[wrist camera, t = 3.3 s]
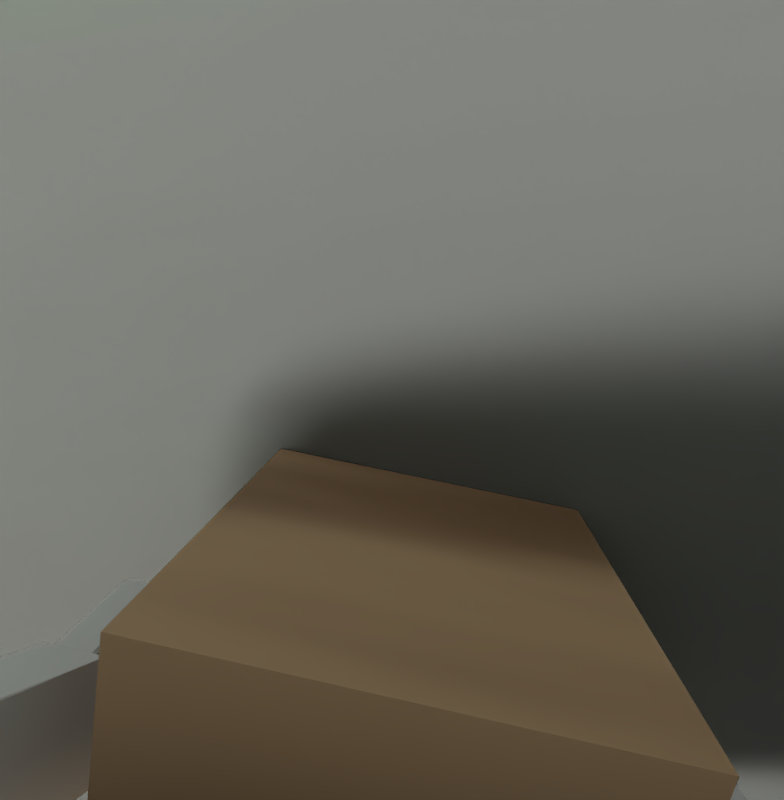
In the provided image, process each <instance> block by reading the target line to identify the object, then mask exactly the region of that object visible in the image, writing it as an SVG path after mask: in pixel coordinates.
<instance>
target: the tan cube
mask: <svg viewBox="0 0 784 800" xmlns="http://www.w3.org/2000/svg"><path fill="white" fill-rule="evenodd" d="M738 779H739V775H738V773H737V772H736V770H735V769H734V767H733V765H732V764H731V762H730V760H729V759H728V757H727V755H726V754H725V752H724V750H723V749H722V747H721V745H720V744H719V742H718V741H717V739H716V737H715V736H714V734H713V732H712V731H711V729H710V727H709V726H708V724H707V722H706V721H705V719H704V717H703V716H702V714H701V713H700V711H699V709H698V708H697V706H696V704H695V703H694V701H693V699H692V698H691V696H690V694H689V693H688V691H687V689H686V688H685V686H684V685H683V683H682V681H681V680H680V678H679V676H678V675H677V673H676V671H675V670H674V668H673V666H672V665H671V663H670V661H669V660H668V658H667V657H666V655H665V653H664V652H663V650H662V648H661V647H660V645H659V643H658V642H657V640H656V638H655V637H654V635H653V633H652V632H651V630H650V629H649V627H648V625H647V624H646V622H645V620H644V619H643V617H642V615H641V614H640V612H639V610H638V609H637V607H636V606H635V604H634V602H633V601H632V599H631V597H630V596H629V594H628V592H627V591H626V589H625V587H624V586H623V584H622V582H621V581H620V579H619V578H618V576H617V574H616V573H615V571H614V569H613V568H612V566H611V564H610V563H609V561H608V559H607V558H606V556H605V554H604V553H603V551H602V550H601V548H600V546H599V545H598V543H597V541H596V540H595V538H594V536H593V535H592V533H591V531H590V530H589V528H588V526H587V525H586V523H585V522H584V520H583V518H582V517H581V515H580V513H579V512H578V510H575V509H570V508H565V507H561V506H556V505H551V504H546V503H541V502H536V501H532V500H527V499H522V498H517V497H512V496H507V495H503V494H498V493H493V492H488V491H483V490H478V489H474V488H469V487H464V486H459V485H454V484H449V483H445V482H440V481H435V480H430V479H425V478H420V477H416V476H411V475H406V474H401V473H396V472H391V471H387V470H382V469H377V468H372V467H367V466H362V465H358V464H353V463H348V462H343V461H338V460H333V459H329V458H324V457H319V456H314V455H309V454H304V453H300V452H295V451H290V450H285V449H280V450H279V451H278V452H277V453H276V454H275V455H274V456H273V457H272V458H271V459H270V460H269V461H268V462H267V463H266V464H265V465H264V466H263V467H262V468H261V469H260V470H259V471H258V473H257V474H256V475H255V476H254V477H253V478H252V479H251V480H250V481H249V482H248V483H247V484H246V485H245V486H244V487H243V488H242V489H241V490H240V491H239V492H238V493H237V494H236V495H235V496H234V497H233V498H232V499H231V500H230V501H229V502H228V503H227V504H226V505H225V506H224V507H223V508H222V509H221V510H220V511H219V512H218V513H217V514H216V515H215V516H214V517H213V518H212V519H211V520H210V521H209V522H208V523H207V524H206V525H205V526H204V527H203V528H202V529H201V530H200V531H199V532H198V533H197V534H196V535H195V537H194V538H193V539H192V540H191V541H190V542H189V543H188V544H187V545H186V546H185V547H184V548H183V549H182V550H181V551H180V552H179V553H178V554H177V555H176V556H175V557H174V558H173V559H172V560H171V561H170V562H169V563H168V564H167V565H166V566H165V567H164V568H163V569H162V570H161V571H160V572H159V573H158V574H157V575H156V576H155V577H154V578H153V579H152V580H151V581H150V582H149V583H148V584H147V585H146V586H145V587H144V588H143V589H142V590H141V591H140V592H139V593H138V594H137V595H136V596H135V597H134V598H133V599H132V601H131V602H130V603H129V604H128V605H127V606H126V607H125V608H124V609H123V610H122V611H121V612H120V613H119V614H118V615H117V616H116V617H115V618H114V619H113V620H112V621H111V622H110V623H109V624H108V625H107V626H106V627H105V628H104V629H103V630H102V631H101V634H100V647H99V660H98V673H97V686H96V699H95V712H94V724H93V737H92V750H91V763H90V776H89V789H88V800H730V799H731V797H732V794H733V792H734V789H735V786H736V784H737V781H738Z"/></svg>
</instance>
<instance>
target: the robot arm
mask: <svg viewBox="0 0 784 800" xmlns="http://www.w3.org/2000/svg"><path fill="white" fill-rule="evenodd" d="M148 583H149V582H147V581H142V580H138V579H128V580H124V581H123V582H122V583H121V584H120V585H118V586H117V587H116V588H115V589H114V590H113V591H112V592H111V593H110V594H109V595H108V596H107V597H105V598H104V599H103V600H102V601H101V602H100V603H99V604H98V605H97V606H96V607H95V608H93V609H92V610H91V611H90V612H89V613H88V614H87V615H86V616H85V617H84V618H83V619H81V620H80V621H79V622H78V623H77V624H76V625H75V626H74V627H73V628H72V629H71V630H70V631H68V632H67V633H66V634H65V635H64V636H63V637H62V638H61V639H60V640H59V641H58V642H56V643H55V644H50V643H45V642H42V643H39V644H37V645H34V646H31V647H28V648H25V649H22V650H19V651H16V652H13V653H10V654H7V655H5V656H2V657H0V800H76V799H77V798H78V797H80V796H81V795H83V794H84V793H86V792H87V791H88V789H89V776H90V763H91V750H92V737H93V724H94V712H95V699H96V686H97V673H98V660H99V647H100V634H101V631H102V630H103V629H104V628H105V627H106V626H107V625H108V624H109V623H110V622H111V621H112V620H113V619H114V618H115V617H116V616H117V615H118V614H119V613H120V612H121V611H122V610H123V609H124V608H125V607H126V606H127V605H128V604H129V603H130V602H131V601H132V599H133V598H134V597H135V596H136V595H137V594H138V593H139V592H140V591H141V590H142V589H143V588H144V587H145V586H146V585H147V584H148ZM730 800H746V798H745V796H744V795H743V793H742V791H741V790H740V788H739V786H738V785H737V784H736V786H735V789H734V792H733V794H732V797H731V799H730Z"/></svg>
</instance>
